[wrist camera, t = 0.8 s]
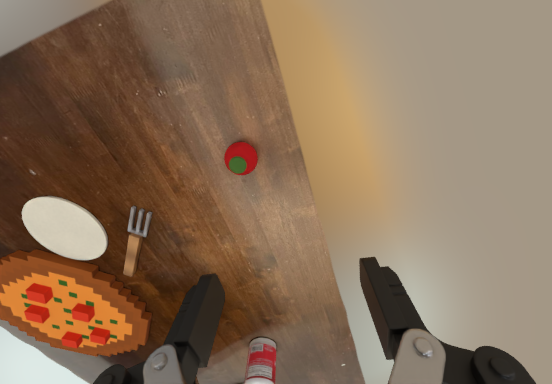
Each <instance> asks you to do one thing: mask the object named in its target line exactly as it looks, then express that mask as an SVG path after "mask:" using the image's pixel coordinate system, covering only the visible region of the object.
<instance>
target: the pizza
mask: <svg viewBox="0 0 552 384" xmlns="http://www.w3.org/2000/svg"><path fill="white" fill-rule="evenodd" d="M123 286H124V283H122V282H118V281H115V275H111V274H107V273H104V272H100V271H99V268H98V266H97V265H94V264H90V263H86V262H82V261H79V260H75V259H71V258H67V257H64V256H60V255H56V254H53V253H49V252H45V251H42V250H38V249H35V250H33V251H32V252H30V253H29V252H25V251H21V250H17V251H16V252H14V253H13V254H12V253H10V254H9V255H7V256H6V257H4V256H3V257H2V258H0V319H1V320H5V321H9V323H10V325H12V326H17V327H18V329H19V330H20V331H25V332H27V335H28V336H33V337H35V339H36V340H37V341H42V342H46V343H50V346H51V347H55V348H60V349H65V350H69V351H74V352H78V353H83V354H88V355H92V356H98V355H99V354H101V355H106V356H111V354H114V355H117V354H118V352H119V353H124V351H128V352H130V351H131V349H133V350H137V349H138V348H139V346H140V345H145V344H146V342H147V340H148V337H149V330H150V324H151V317H152V313H150V312H146V311H145V306H146V303H145V302H141V301H138V300H139V296H135V295H131V290H130V289H126V288H123Z"/></svg>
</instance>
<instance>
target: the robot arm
mask: <svg viewBox="0 0 552 384" xmlns="http://www.w3.org/2000/svg"><path fill="white" fill-rule="evenodd" d="M360 282H361V287H362V289H363V293H364V296H365V299H366V301H367V305H368V307H369V310H370V313H371V316H372V319H373V322H374V325H375V328H376V330H377V333H378V336H379V339H380V342H381V345H382V348H383V351H384V354H385V357H386V359H387V360H391V359H394V365H393V369H392V372H391V375H390V378H389V381H388V384H536V383H535V381H534V380H533V379H532V377H531V376H530V375H529V373H528V372H527V371H526V369H525V368H524V367H523V366H522V365H521V364H520V363H519V362H518V361H517V360H516V359H515V358H514V357H512V356H511V355H509V354H508V353H506V352H505V351H502V350H500V349H498V348H495V347H491V346H482V347H479V348H477V349H476V350H475V352H474V351H470V350H467V349H462V348H458V347H455V346H451V345H448V344H446V343H444V342H442V341H440V340H438V339H437V338H436V337H434V336H433V335H432V334H431V333H430V332H429V331H428V330H427V328H426V327H425V325H424V323H423V322H422V320H421V318H420V316H419V314H418V313H417V311H416V309H415V307H414V305H413V303H412V301H411V300H410V298H409V296H408V295H407V293H406V290H405V289H404V287H403V286H402V283H401V281H400V280H399V277H398V276H397V274H396V273H395V272H394V271H393V270H391V269H390V268H389V267H380V266H379V264H378V262H377V260H376V258H375V257H368V258H360ZM224 301H225V292H224V289H223V287H222V285H221V283H220V281H219V278H218V276H217V275H216V274H206V275H202V276H201V277H200V279H199V282H198V284H197V285H194V286H193V287H192V288H191V289H190V290H189V291H188V293H187V294H186V296H185V298H184V300H183V302H182V305H181V307H180V309H179V313H177V316H176V318H175V320H174V322H173V325H172V327H171V329H170V331H169V333H168V336H167V338H166V340H165V342H164V344H163V346H161V347H159V348H157V349H156V350H155V351H154V352H153V353H152V354H151V355H150V356H149V357H148V359H147V360H146V361H144V362H142V363H140V364H137V365H135V366H133V367H130V368H128V369H126V368H125V367H124V366H122V365H120V364H117V365H113V366H111V367H109V368H108V369H106V370H105V371H104V372H102V373H101V374H100V375H99V377H98V378H97V379H96V380H95V382H94V383H93V384H199V383H198V379H197V377H196V374H197V371H198V368H203V367H207V364H208V360H209V357H210V353H211V349H212V346H213V342H214V338H215V335H216V331H217V327H218V324H219V320H220V316H221V312H222V309H223V305H224Z"/></svg>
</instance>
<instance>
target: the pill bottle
mask: <svg viewBox="0 0 552 384" xmlns="http://www.w3.org/2000/svg"><path fill="white" fill-rule="evenodd" d="M275 370H276V344H275V342H274V341H272V340H270V339H268V338H256V339H254V340H252V341H251V343H250V346H249V353H248V361H247V368H246V375H245V383H244V384H275Z"/></svg>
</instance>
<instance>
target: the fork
mask: <svg viewBox="0 0 552 384" xmlns="http://www.w3.org/2000/svg"><path fill="white" fill-rule="evenodd" d="M135 213H136V206H132V207H131V211H130V218H129V225H128V231H129V232H131V234H130V235H129V240H128V247H127V253H126V260H125V266H124V272H123V274H125V275H128V276H131V277H132V276H133V275H134V274H135V272H136V269H137V264H138V259H139V254H140V249H141V244H142V239H143V237H146V236H147V235H148V230H149V226H150V221H151V216H152V212H148V213H147V217H146V222H145V227H144V231H142V230H141V225H142V220H143V214H144V209H140V210H139V214H138V220H137V226H136V228H133V225H134V219H135Z"/></svg>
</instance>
